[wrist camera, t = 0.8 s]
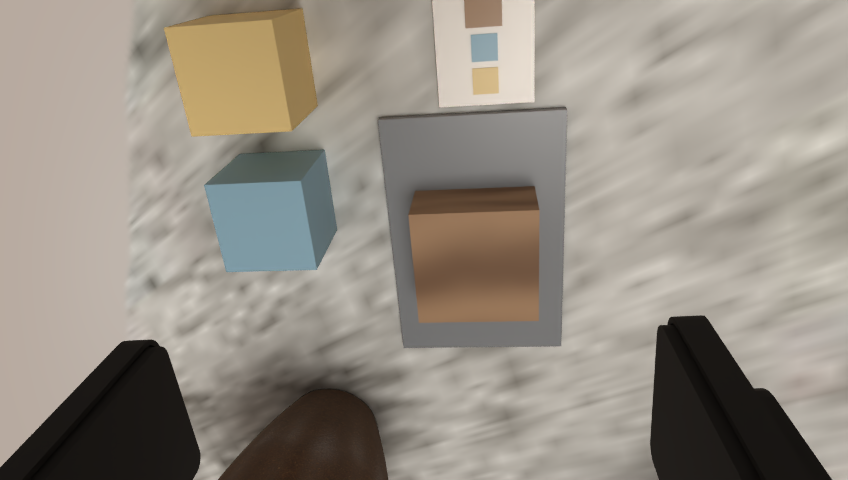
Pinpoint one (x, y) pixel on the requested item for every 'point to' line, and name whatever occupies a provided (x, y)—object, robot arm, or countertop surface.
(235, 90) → the ochre brick
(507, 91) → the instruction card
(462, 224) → the walnut base brick
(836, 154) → the countertop surface
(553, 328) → the grey flat board
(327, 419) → the plant pot
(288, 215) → the blue brick
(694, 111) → the countertop surface
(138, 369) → the robot arm
